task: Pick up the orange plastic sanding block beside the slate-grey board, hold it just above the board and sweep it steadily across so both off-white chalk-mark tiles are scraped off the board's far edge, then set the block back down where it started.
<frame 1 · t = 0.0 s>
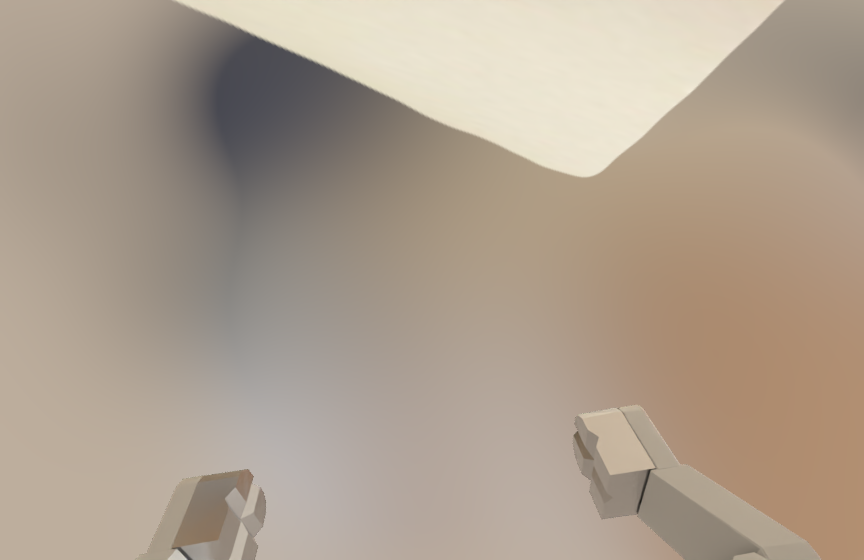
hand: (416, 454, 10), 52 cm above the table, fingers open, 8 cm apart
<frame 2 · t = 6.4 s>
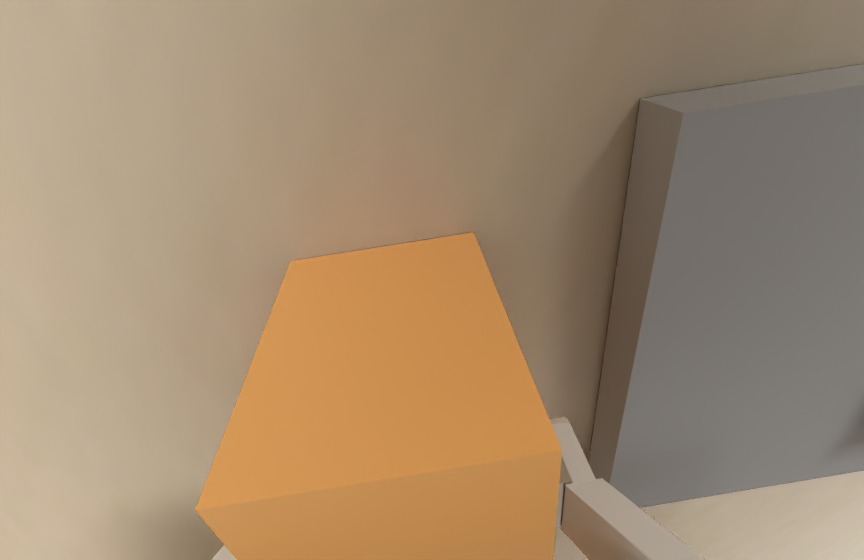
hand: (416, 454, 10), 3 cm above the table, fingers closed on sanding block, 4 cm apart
sanding block: (410, 375, 12), on the table, touching gripper
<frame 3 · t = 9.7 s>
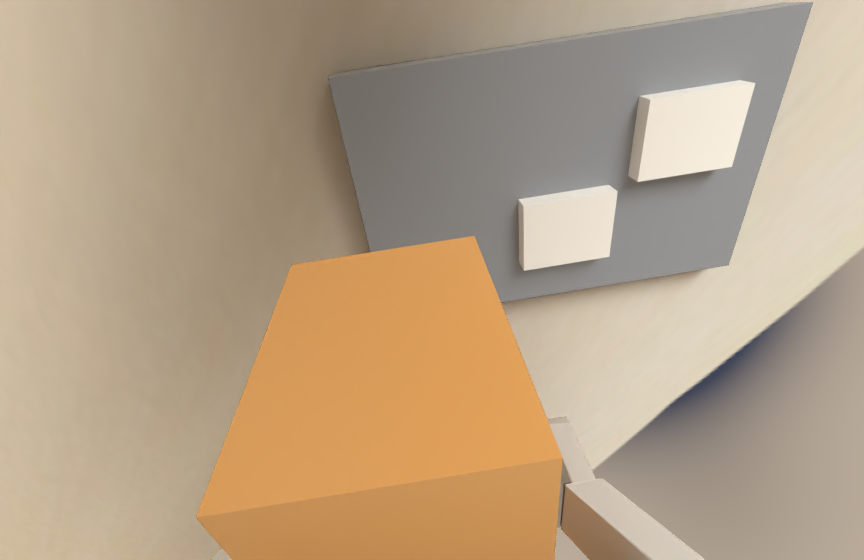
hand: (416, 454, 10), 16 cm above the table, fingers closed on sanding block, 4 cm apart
mark a: (561, 225, 23), point 1 cm above the table, touching board
sanding block: (411, 378, 12), point 13 cm above the table, touching gripper
board: (554, 179, 23), on the table
mark b: (681, 130, 21), point 1 cm above the table, touching board
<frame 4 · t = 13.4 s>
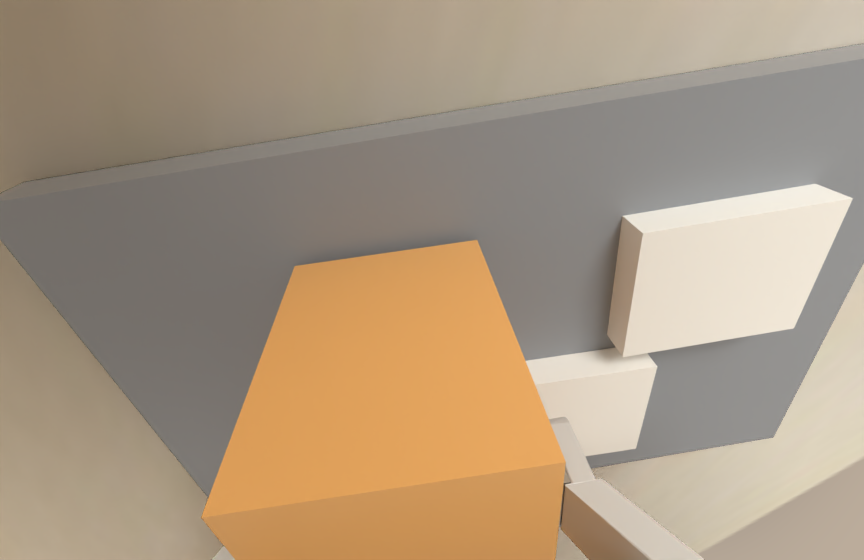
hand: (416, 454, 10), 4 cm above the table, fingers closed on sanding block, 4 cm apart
mark a: (558, 398, 14), point 2 cm above the table, touching sanding block
sanding block: (411, 381, 13), point 2 cm above the table, touching gripper, mark a
board: (485, 326, 14), on the table
mark b: (701, 266, 12), point 1 cm above the table, touching board
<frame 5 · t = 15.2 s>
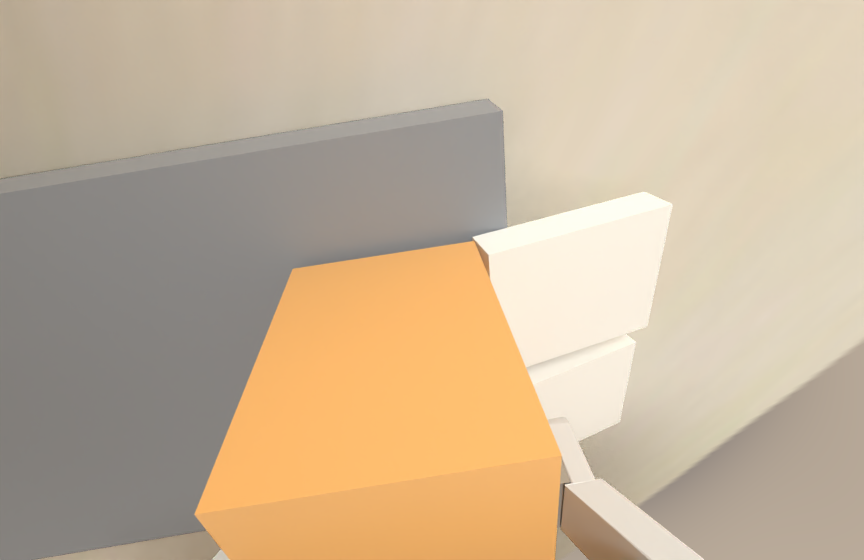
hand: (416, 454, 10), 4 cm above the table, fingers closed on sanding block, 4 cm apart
mark a: (548, 391, 14), point 1 cm above the table, tilted 16°, touching sanding block
sanding block: (411, 384, 12), point 2 cm above the table, touching gripper, mark a, mark b
board: (178, 373, 14), on the table
mark b: (558, 277, 12), point 1 cm above the table, tilted 12°, touching board, sanding block
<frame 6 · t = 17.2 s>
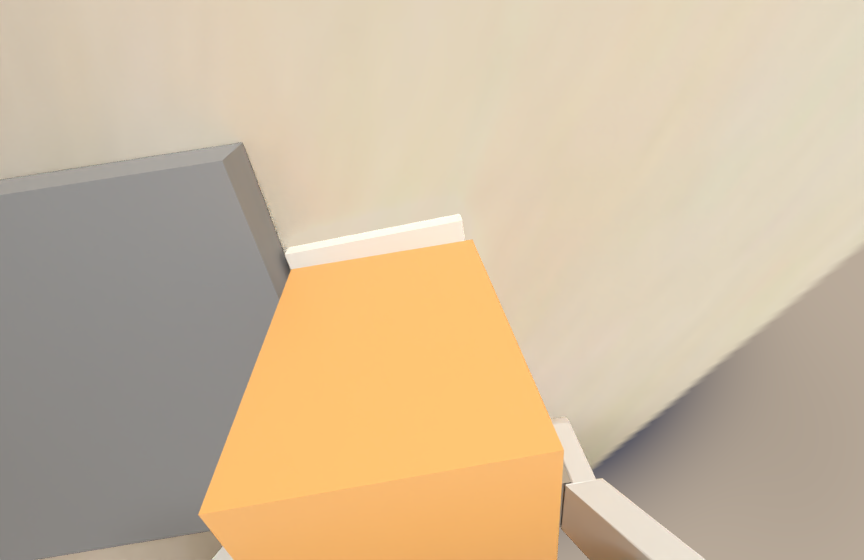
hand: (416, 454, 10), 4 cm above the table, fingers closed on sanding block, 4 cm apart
sanding block: (410, 384, 12), point 2 cm above the table, touching gripper
mark b: (389, 278, 13), on the table
when the fingers open (4 cm above the table, at t = 23.8 s): sanding block drops 2 cm, on the table.
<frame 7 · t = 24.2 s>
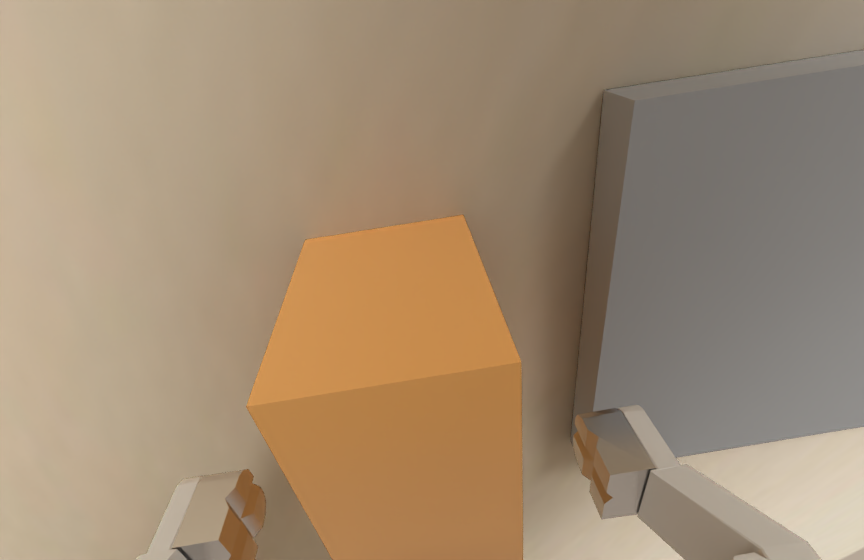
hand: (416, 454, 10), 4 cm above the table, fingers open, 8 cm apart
sanding block: (409, 343, 14), on the table
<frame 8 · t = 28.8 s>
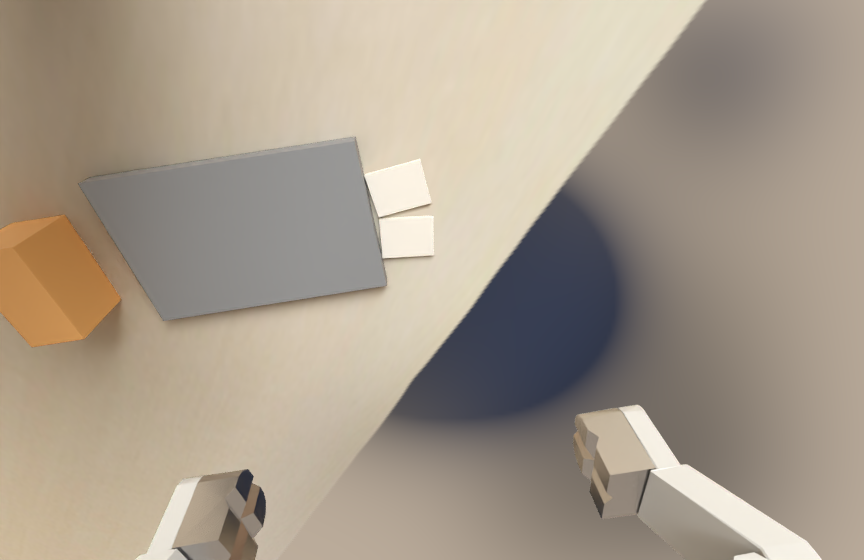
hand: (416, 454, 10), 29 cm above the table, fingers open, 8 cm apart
mark a: (407, 233, 40), on the table
sanding block: (71, 262, 38), on the table
board: (253, 232, 38), on the table
mark b: (398, 185, 37), on the table
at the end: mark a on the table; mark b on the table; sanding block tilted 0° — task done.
